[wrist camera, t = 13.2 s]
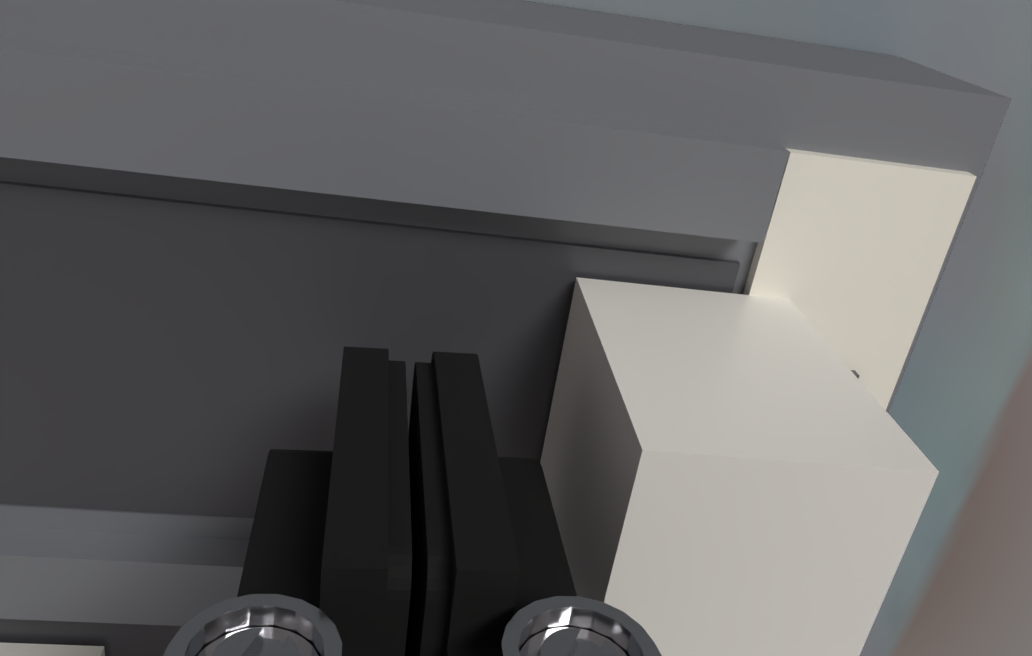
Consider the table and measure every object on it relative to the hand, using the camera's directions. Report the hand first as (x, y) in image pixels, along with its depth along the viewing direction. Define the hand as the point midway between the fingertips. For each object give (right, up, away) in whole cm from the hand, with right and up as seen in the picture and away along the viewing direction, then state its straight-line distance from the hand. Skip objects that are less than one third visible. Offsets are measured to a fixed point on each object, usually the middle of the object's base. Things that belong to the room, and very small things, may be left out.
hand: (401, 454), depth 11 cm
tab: (+3, 0, +2) cm, 4 cm away
